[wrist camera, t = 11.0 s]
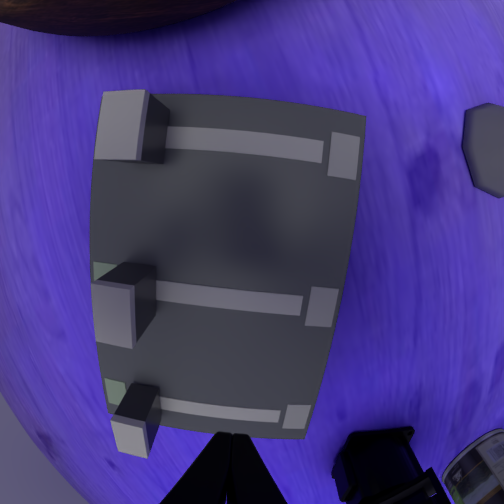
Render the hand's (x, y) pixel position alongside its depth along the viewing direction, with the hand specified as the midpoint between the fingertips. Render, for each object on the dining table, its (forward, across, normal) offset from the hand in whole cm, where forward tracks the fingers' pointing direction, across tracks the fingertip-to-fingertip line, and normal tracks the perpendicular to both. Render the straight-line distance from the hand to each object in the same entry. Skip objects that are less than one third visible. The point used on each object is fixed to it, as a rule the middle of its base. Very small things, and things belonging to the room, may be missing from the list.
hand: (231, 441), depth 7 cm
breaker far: (+10, +6, +8) cm, 14 cm away
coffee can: (+12, -31, +21) cm, 39 cm away
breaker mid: (+10, +6, 0) cm, 12 cm away
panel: (+12, +2, 0) cm, 12 cm away
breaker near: (+10, +6, -9) cm, 15 cm away
